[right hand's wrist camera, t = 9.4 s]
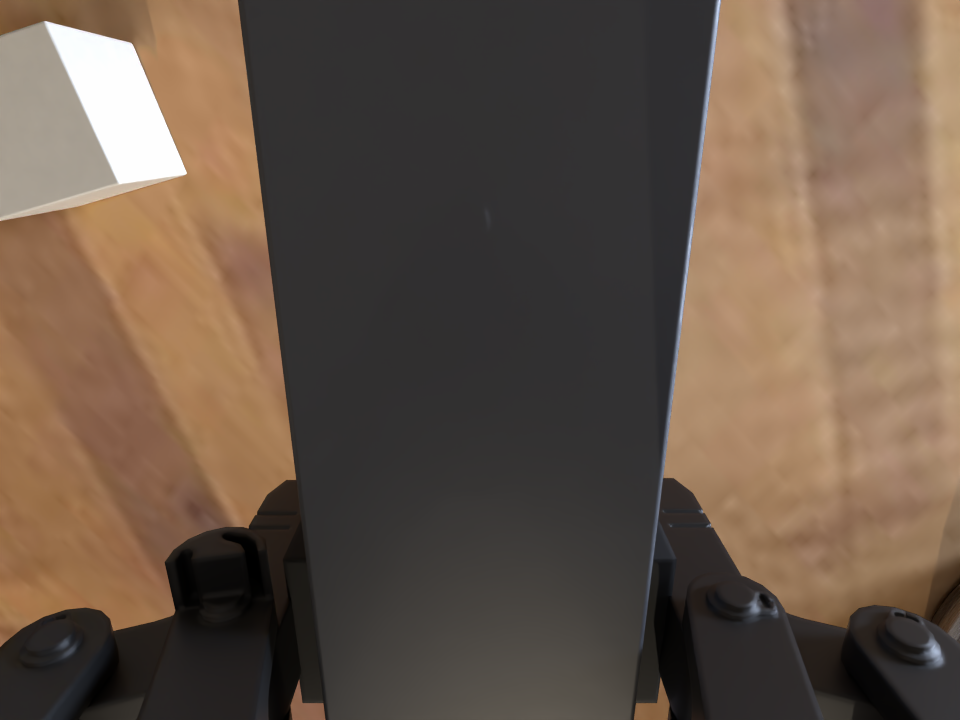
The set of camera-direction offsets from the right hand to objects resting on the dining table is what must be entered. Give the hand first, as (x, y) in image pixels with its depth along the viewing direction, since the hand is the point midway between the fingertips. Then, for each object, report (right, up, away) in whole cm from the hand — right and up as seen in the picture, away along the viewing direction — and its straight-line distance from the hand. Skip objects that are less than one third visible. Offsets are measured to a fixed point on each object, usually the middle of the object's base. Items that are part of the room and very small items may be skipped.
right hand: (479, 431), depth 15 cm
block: (-15, +11, +9) cm, 21 cm away
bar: (0, +10, -4) cm, 11 cm away
